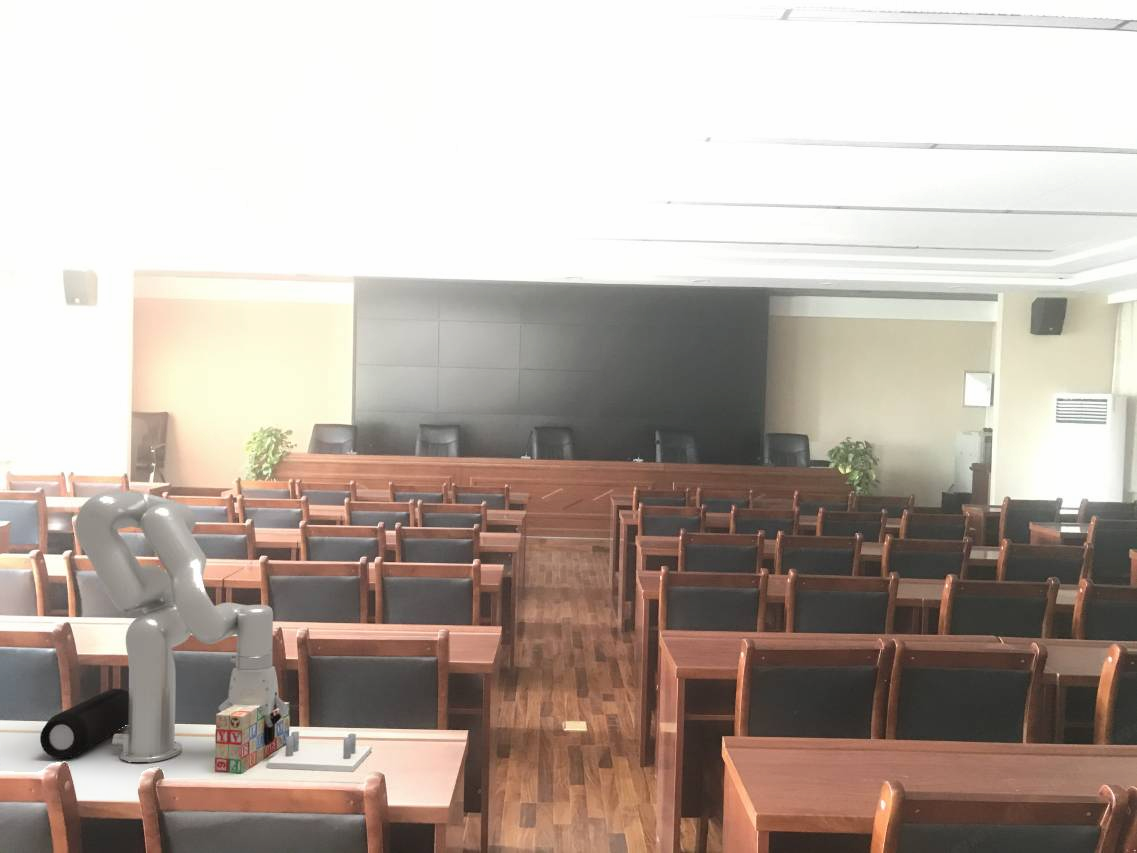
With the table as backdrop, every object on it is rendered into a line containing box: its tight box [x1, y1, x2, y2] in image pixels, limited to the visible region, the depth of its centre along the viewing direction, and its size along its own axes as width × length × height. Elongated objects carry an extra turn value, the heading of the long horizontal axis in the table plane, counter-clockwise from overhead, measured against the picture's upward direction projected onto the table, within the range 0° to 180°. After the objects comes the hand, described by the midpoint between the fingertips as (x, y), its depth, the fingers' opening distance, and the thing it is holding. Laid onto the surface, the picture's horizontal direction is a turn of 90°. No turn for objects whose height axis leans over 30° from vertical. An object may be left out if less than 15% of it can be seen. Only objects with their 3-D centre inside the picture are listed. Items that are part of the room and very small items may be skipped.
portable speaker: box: [39, 688, 129, 759], centre depth 213 cm, size 26×10×10 cm, turn 177°
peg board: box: [266, 731, 372, 773], centre depth 203 cm, size 19×13×5 cm
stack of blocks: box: [214, 701, 291, 775], centre depth 205 cm, size 21×6×12 cm, turn 170°
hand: (253, 742), depth 205 cm, fingers closed on stack of blocks, 6 cm apart
